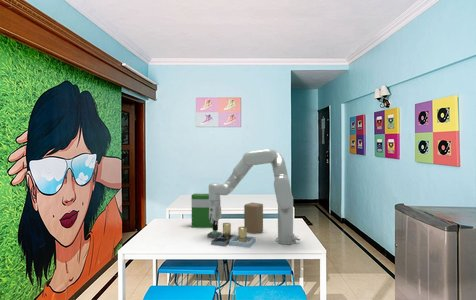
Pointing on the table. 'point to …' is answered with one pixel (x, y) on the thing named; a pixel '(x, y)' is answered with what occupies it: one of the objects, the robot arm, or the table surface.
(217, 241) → the metal compartment tray
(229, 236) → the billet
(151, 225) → the table surface
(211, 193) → the robot arm
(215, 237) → the grey button housing
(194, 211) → the hardback book
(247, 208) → the wooden block
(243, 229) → the billet
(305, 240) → the table surface
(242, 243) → the tray
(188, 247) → the table surface
